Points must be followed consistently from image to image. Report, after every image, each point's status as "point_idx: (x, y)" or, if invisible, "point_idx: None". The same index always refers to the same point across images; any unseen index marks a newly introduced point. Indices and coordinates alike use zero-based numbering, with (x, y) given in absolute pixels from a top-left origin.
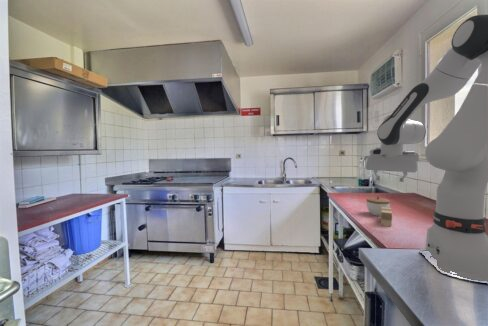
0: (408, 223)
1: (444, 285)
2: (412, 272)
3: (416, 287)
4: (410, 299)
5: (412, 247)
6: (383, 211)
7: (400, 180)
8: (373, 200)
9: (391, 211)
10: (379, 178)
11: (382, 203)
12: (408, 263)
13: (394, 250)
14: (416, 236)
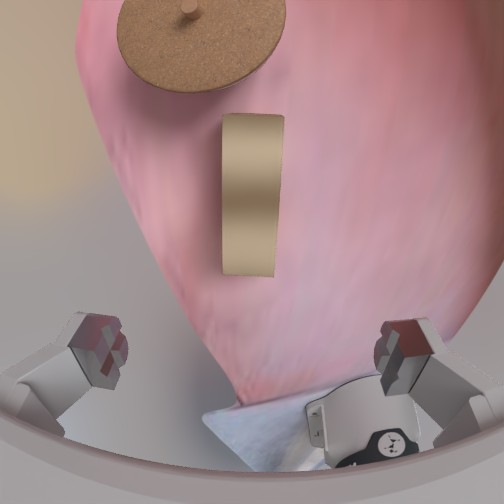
0: (357, 162)
1: (304, 454)
2: (274, 447)
3: (271, 462)
4: (261, 471)
5: (300, 389)
6: (232, 253)
7: (382, 369)
8: (160, 73)
9: (276, 235)
10: (112, 340)
11: (227, 85)
12: (274, 434)
13: (258, 410)
14: (338, 320)
